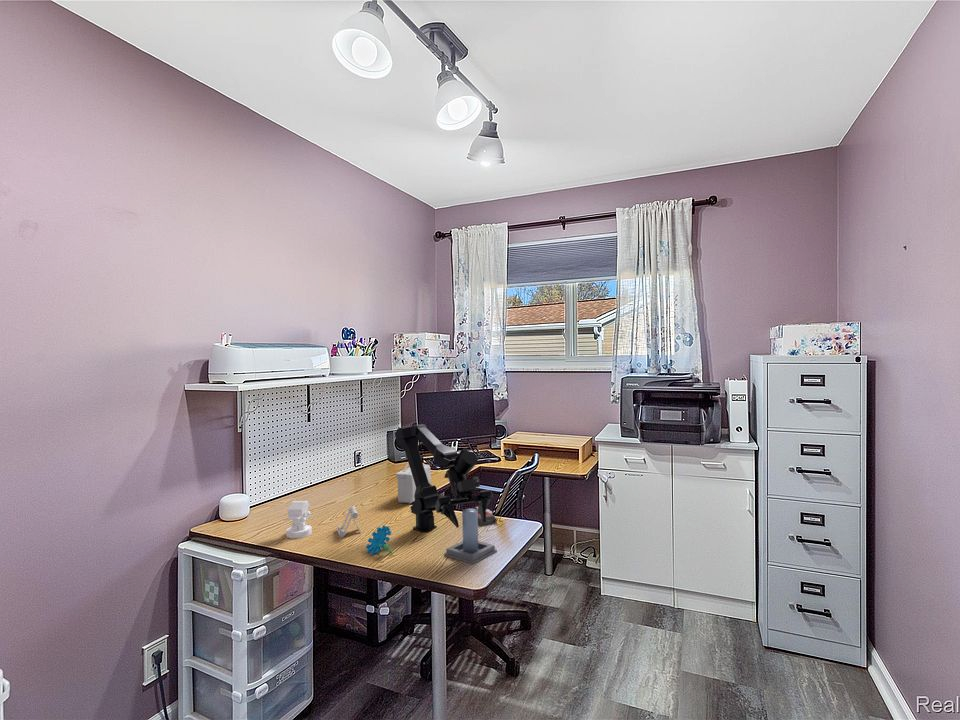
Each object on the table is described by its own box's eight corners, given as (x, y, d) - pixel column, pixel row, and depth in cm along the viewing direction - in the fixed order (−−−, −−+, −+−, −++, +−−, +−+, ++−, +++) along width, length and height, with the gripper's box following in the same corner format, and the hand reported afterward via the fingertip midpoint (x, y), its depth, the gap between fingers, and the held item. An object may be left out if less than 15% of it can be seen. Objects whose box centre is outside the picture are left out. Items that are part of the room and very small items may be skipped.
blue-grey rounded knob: (459, 551, 156) (459, 511, 156) (469, 546, 160) (469, 507, 160) (471, 555, 153) (471, 514, 153) (481, 550, 157) (481, 510, 157)
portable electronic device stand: (337, 530, 182) (336, 508, 182) (358, 527, 184) (358, 505, 184) (339, 538, 174) (338, 514, 174) (361, 535, 176) (361, 511, 176)
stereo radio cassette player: (412, 504, 211) (411, 458, 211) (395, 503, 214) (394, 458, 214) (431, 492, 231) (430, 449, 231) (415, 491, 234) (414, 449, 234)
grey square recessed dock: (444, 555, 156) (444, 548, 156) (468, 543, 165) (468, 537, 165) (473, 564, 148) (473, 557, 148) (497, 551, 158) (496, 545, 158)
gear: (361, 543, 163) (381, 519, 166) (373, 552, 166) (393, 528, 169) (372, 559, 154) (393, 533, 157) (384, 568, 156) (405, 543, 159)
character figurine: (315, 530, 183) (314, 498, 183) (303, 539, 173) (302, 505, 173) (293, 529, 184) (292, 497, 184) (280, 539, 174) (279, 505, 174)
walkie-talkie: (502, 523, 185) (480, 509, 204) (502, 511, 185) (480, 498, 204) (481, 527, 182) (460, 512, 200) (480, 515, 182) (460, 501, 200)
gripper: (436, 472, 157) (449, 516, 146) (490, 465, 164) (505, 507, 154) (430, 490, 164) (441, 534, 154) (481, 483, 171) (495, 524, 161)
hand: (471, 524), depth 155 cm, fingers open, 9 cm apart
